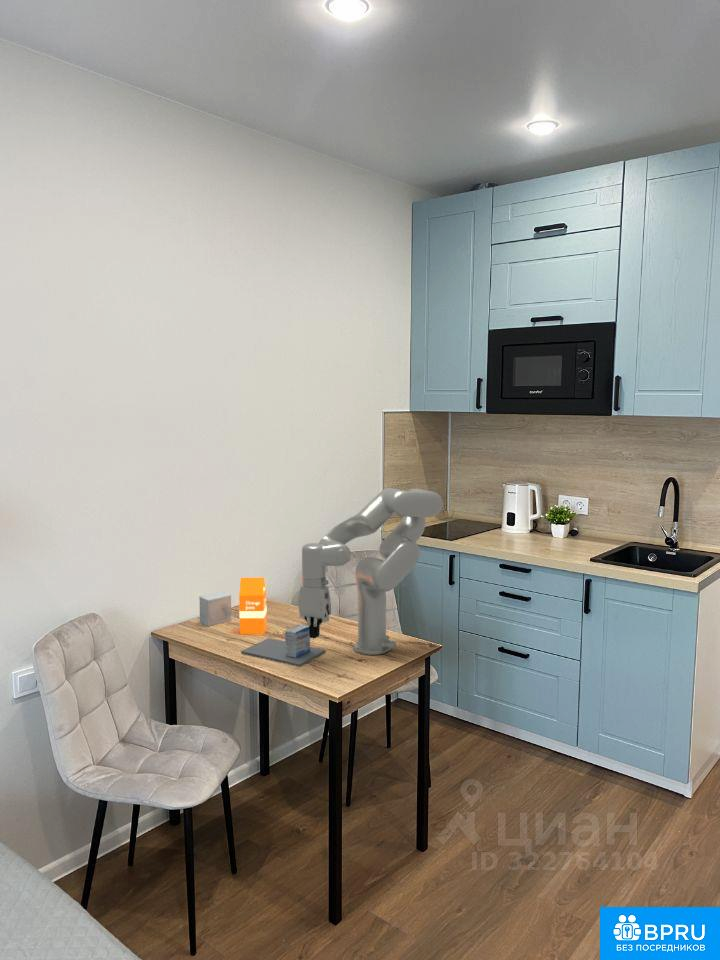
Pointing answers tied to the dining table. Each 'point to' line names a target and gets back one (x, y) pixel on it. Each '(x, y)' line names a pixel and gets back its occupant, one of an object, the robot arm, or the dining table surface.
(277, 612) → the dining table surface
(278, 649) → the mat
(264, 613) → the orange juice
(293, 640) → the medicine box
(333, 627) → the dining table surface
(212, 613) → the skincare box
